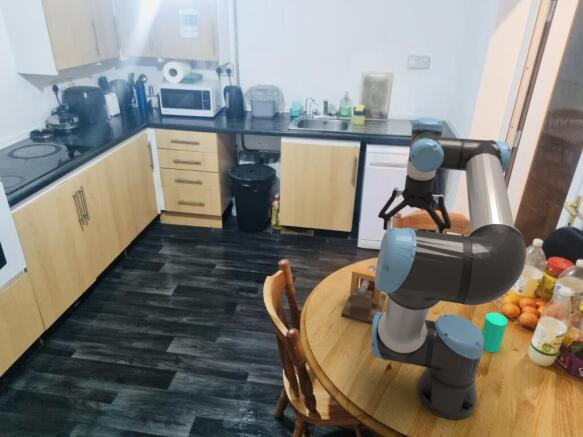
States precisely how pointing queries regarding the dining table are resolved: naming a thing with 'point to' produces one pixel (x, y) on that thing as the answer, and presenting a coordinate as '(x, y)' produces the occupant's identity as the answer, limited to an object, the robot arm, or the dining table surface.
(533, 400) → the dining table surface
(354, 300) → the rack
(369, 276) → the orange open frame
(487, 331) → the candle
